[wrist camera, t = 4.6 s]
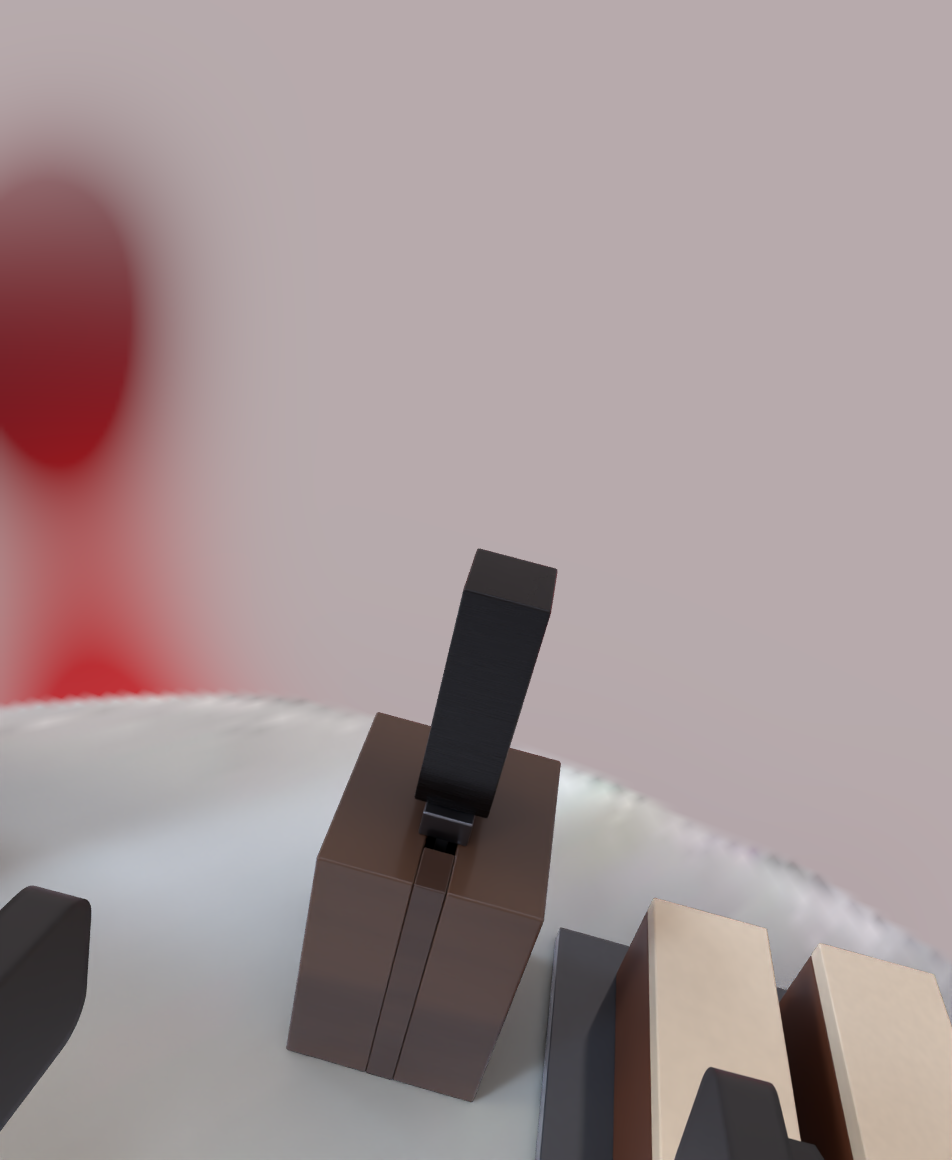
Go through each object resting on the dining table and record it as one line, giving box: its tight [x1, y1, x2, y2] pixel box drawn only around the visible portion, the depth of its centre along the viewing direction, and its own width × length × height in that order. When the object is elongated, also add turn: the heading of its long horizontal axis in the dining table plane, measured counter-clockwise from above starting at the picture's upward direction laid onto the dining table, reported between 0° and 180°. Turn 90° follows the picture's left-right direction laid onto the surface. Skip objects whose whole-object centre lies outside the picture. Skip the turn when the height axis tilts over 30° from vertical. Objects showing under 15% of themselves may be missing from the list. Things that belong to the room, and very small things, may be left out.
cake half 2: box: [613, 898, 801, 1160], centre depth 29 cm, size 12×4×5 cm, turn 171°
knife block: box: [287, 712, 561, 1102], centre depth 31 cm, size 7×7×10 cm
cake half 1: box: [779, 943, 952, 1160], centre depth 28 cm, size 12×4×5 cm, turn 171°
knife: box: [414, 549, 557, 853], centre depth 28 cm, size 3×2×19 cm
